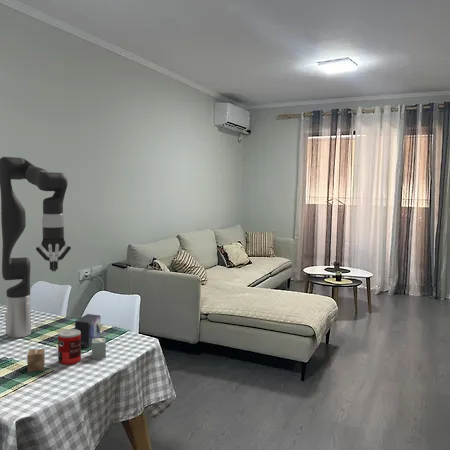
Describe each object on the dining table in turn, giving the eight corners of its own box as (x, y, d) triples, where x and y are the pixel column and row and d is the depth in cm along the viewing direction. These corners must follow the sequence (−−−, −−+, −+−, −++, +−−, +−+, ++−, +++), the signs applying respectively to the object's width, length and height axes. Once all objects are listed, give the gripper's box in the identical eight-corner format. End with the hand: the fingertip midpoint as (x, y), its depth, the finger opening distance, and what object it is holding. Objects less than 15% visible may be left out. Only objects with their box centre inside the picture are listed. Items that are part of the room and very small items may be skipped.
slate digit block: (92, 358, 168) (91, 343, 168) (92, 353, 173) (92, 338, 172) (105, 357, 170) (105, 341, 169) (105, 352, 174) (105, 337, 174)
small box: (88, 347, 179) (88, 322, 178) (74, 346, 180) (73, 320, 179) (101, 338, 189) (101, 314, 188) (87, 337, 191) (87, 313, 190)
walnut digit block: (27, 371, 156) (27, 354, 155) (29, 366, 161) (29, 349, 160) (43, 370, 157) (42, 353, 157) (44, 364, 162) (44, 348, 161)
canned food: (61, 357, 169) (61, 328, 168) (83, 356, 170) (82, 328, 169) (55, 365, 161) (55, 335, 160) (78, 365, 162) (78, 335, 161)
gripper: (33, 226, 163) (34, 273, 165) (72, 226, 168) (72, 272, 169) (34, 224, 170) (35, 269, 172) (71, 224, 175) (71, 268, 176)
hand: (53, 270), depth 170 cm, fingers closed
